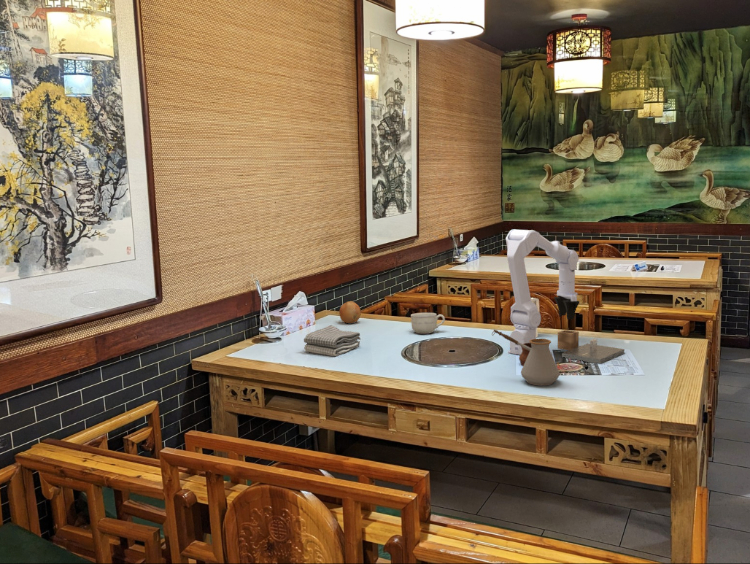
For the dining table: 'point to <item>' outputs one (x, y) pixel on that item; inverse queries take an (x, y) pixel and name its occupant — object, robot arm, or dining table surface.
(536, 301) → the beer glass
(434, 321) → the teacup
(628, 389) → the dining table surface
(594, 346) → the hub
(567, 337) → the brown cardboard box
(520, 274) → the robot arm
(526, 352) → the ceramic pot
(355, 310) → the onion
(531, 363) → the coffee pot
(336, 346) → the towel
